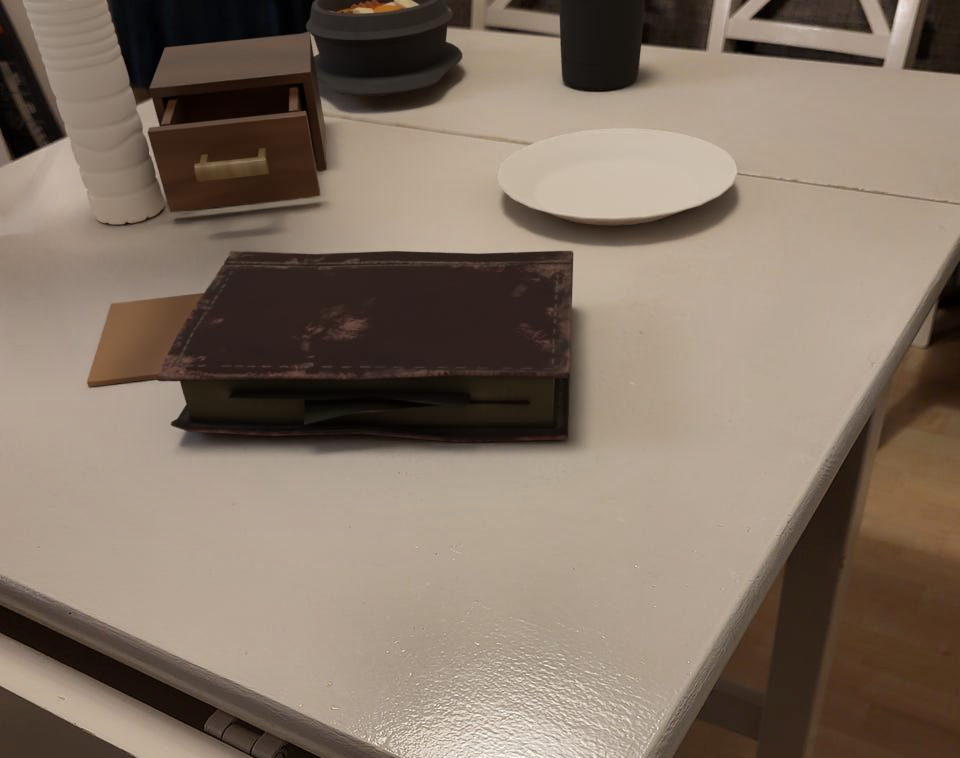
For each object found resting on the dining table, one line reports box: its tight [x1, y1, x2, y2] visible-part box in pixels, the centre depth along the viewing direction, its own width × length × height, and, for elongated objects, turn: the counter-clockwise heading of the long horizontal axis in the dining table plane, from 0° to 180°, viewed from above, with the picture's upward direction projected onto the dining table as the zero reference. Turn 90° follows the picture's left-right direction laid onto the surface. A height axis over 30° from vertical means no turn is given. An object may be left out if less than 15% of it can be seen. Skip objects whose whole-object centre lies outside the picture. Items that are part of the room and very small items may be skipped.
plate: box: [496, 127, 739, 227], centre depth 86 cm, size 21×21×2 cm
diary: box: [156, 250, 574, 443], centre depth 65 cm, size 19×25×5 cm
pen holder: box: [558, 0, 646, 92], centre depth 107 cm, size 9×9×10 cm
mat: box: [86, 292, 204, 388], centre depth 72 cm, size 10×12×1 cm
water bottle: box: [22, 0, 165, 226], centre depth 82 cm, size 9×6×25 cm
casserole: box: [305, 0, 463, 97], centre depth 113 cm, size 25×19×8 cm
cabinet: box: [149, 32, 328, 172], centre depth 97 cm, size 14×15×9 cm
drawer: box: [147, 83, 321, 213], centre depth 89 cm, size 17×14×7 cm
